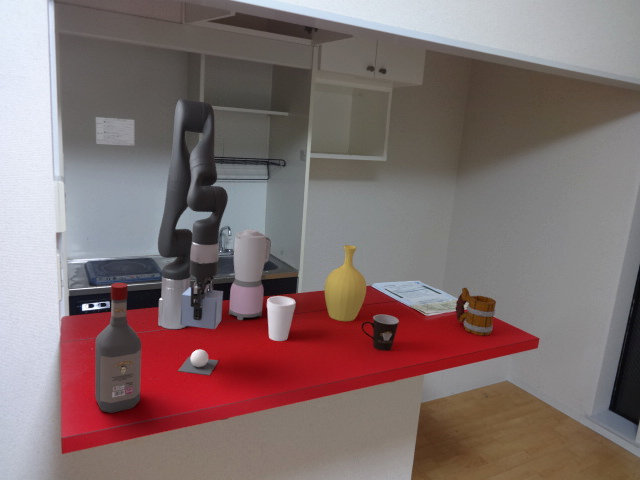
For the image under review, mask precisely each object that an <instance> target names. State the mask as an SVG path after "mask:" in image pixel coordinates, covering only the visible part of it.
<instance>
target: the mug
mask: <svg viewBox="0 0 640 480" xmlns="http://www.w3.org/2000/svg"><path fill="white" fill-rule="evenodd" d="M461 291H462V292H461V294H460V295H459V296H458V298H457V300H456V302H455V303H456V305H455V313H456V315H455V316H456V319H457V320H458V322H459V323H463V329H464V328H465V329H464V331H466V332H468V333H469V332H471V333H470V334H472V333H473V334H472V335H475V334H477V335H476V336H484V335H487V336H489V334H490V335H491V334H492V331H493V329H494V326H493V318H494V316H495V313H496V309H495V308H496V303H497V301H496V300H495V299H494V298H492V297H488V296H485V295H484V296H483V295H470V291H469V290H468V287H463V288H462V290H461ZM466 303H468V304H467V307H466V311H465V305H466Z"/></svg>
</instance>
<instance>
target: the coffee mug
mask: <svg viewBox="0 0 640 480" xmlns="http://www.w3.org/2000/svg"><path fill="white" fill-rule="evenodd" d="M399 322H400V320H399V319H398V318H397V317H395V316H393V315H389V314H376V315H374V316H372V322H371V321H368V320H367V321H364V322H363V323H362V324H361V330H362V332H363V333H364V334H365V335H366V336H368V337H369V338H371V339H372V347H373V349H376V350H379V351H384V352H388V351H391V350H392V349H393V345H394V341H395V337H396V334H397V330H398V326H399ZM366 324H369V325H370V326H371V327H372V333H373V334H372V335H371V334H369V333H368V332H367V331H366V330H365V328H364V326H365V325H366Z"/></svg>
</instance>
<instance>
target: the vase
mask: <svg viewBox="0 0 640 480" xmlns="http://www.w3.org/2000/svg"><path fill="white" fill-rule="evenodd" d="M343 250H344V253H345V256H344V257H345V258H344V263H343V264H342V265H340V266H338V267H337V268H335V269H333V270H332V271H330V273H329V274H328V275H327V278H326V280H325V282H324V283H325V284H324V298H325V305H326V308H327V312H328V316H329V318H331V319H333V320H336V321H340V322H351V321H354V320H355V319H356V318H357V317H358V315H359V312H360V310H361V309H362V306H363V303H364V301H365V297H366V294H367V281H366V279H365V277H364V275H363V274H362V273H361V272H360V271H359V270H358V269H356V267H354V263H353V259H354V254H355V252H356V250H357V247H356V246H354V245H350V244H345V245H344V246H343Z"/></svg>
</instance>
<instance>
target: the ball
mask: <svg viewBox="0 0 640 480" xmlns="http://www.w3.org/2000/svg"><path fill="white" fill-rule="evenodd" d="M190 357H191V358H190V360H191V363H192V364H193V365H194V366H195V367H203V366H204V365H206V363H207V362H208V359H209V354H208V352H207V351H205V350H204V349H200V348H199V349H195V351H192V353H191V355H190Z"/></svg>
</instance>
